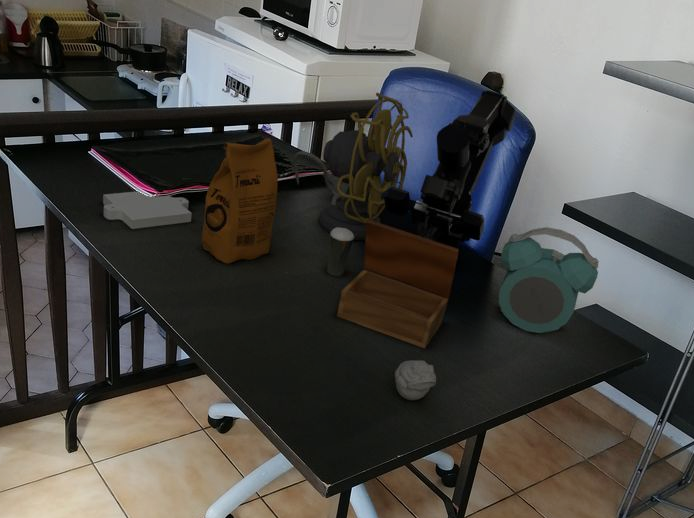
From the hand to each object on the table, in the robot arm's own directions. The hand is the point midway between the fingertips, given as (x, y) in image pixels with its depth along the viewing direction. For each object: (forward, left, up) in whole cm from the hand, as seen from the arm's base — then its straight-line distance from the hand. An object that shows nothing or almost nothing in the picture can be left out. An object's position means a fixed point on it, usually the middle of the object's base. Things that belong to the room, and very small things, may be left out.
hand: (416, 253), depth 137 cm
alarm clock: (-7, +23, -11) cm, 26 cm away
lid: (+5, 0, 0) cm, 5 cm away
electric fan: (-30, -27, -11) cm, 41 cm away
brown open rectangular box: (+8, -1, -10) cm, 13 cm away
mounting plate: (-5, -57, -11) cm, 58 cm away
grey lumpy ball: (+30, +8, -11) cm, 33 cm away
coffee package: (0, -35, -11) cm, 36 cm away
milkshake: (-4, -15, -11) cm, 19 cm away
